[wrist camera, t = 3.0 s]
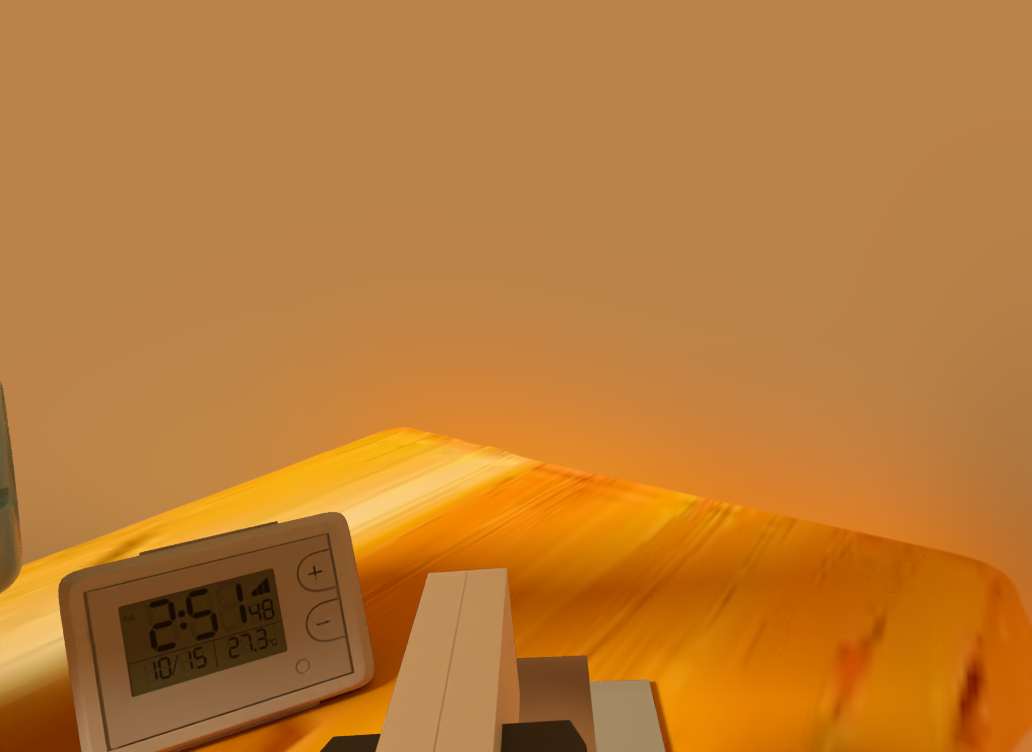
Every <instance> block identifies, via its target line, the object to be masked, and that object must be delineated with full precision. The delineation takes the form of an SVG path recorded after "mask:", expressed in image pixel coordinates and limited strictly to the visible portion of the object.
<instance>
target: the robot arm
mask: <svg viewBox="0 0 1032 752" xmlns="http://www.w3.org/2000/svg"><path fill="white" fill-rule="evenodd" d="M21 567H22V544H21V532H20V521H19V511H18V501H17V493H16V483H15V475H14V466H13V458H12V449H11V443H10V435H9V427H8V420H7V412H6V405H5V399H4V393H3V388H2V384H1V382H0V593H2V592H3V591H5V590H6V589H8V588H9V587H10V586H11V585H12V584H13V583H14V582H15V580H16V579H17V577H18V576H19V573H20V571H21ZM519 704H520V691H519V681H518V671H517V662H516V652H515V642H514V632H513V622H512V613H511V603H510V593H509V583H508V573H507V568H494V569H480V570H466V571H452V572H438V573H428V576H427V579H426V583H425V586H424V590H423V593H422V596H421V600H420V603H419V606H418V610H417V613H416V617H415V620H414V623H413V627H412V630H411V634H410V637H409V640H408V644H407V647H406V651H405V654H404V657H403V661H402V664H401V667H400V671H399V674H398V678H397V681H396V684H395V688H394V691H393V695H392V698H391V701H390V705H389V708H388V711H387V715H386V718H385V722H384V725H383V728H382V732H381V734H370V735H354V736H337V737H333V738H332V739H331V740H330V741H329V742H328V743H327V744H326V746H325V747H324V748H323V749H322V750H321V751H320V752H587V745H586V743H585V742H584V740H583V739H582V737H581V736H580V734H579V733H578V731H577V730H576V728H575V727H574V725H573V724H572V722H571V721H570V720H557V721H541V722H525V723H519Z"/></svg>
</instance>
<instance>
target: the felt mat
mask: <svg viewBox="0 0 1032 752" xmlns="http://www.w3.org/2000/svg"><path fill="white" fill-rule="evenodd" d="M590 691H591V701H592V711H593V721H594V730H595V740H596V750H597V752H665V748H664V743H663V739H662V735H661V730H660V726H659V721H658V717H657V713H656V708H655V704H654V699H653V695H652V691H651V686H650V682H649V680H627V681H602V682H590Z"/></svg>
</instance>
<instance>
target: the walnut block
mask: <svg viewBox="0 0 1032 752" xmlns="http://www.w3.org/2000/svg"><path fill="white" fill-rule="evenodd" d="M516 662H517V671H518V681H519V691H520V704H519V723H525V722H541V721H557V720H570V721H571V722H572V724H573V725H574V727H575V728H576V730H577V731H578V733H579V734H580V736H581V737H582V739H583V740H584V742H585V743H586V745H587V752H597V750H596V740H595V730H594V721H593V711H592V701H591V691H590V682H589V672H588V662H587V656H563V657H539V658H516Z"/></svg>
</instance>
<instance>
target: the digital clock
mask: <svg viewBox="0 0 1032 752" xmlns="http://www.w3.org/2000/svg"><path fill="white" fill-rule="evenodd" d="M139 555H140V556H136V557H132V558H128V559H124V560H119V561H115V562H111V563H106V564H102V565H98V566H93V567H89V568H85V569H81V570H78V571H75V572H72V573H70V574H68V575H67V576H65V577H64V578H63V579H62V580H61V582H60V584H59V590H58V592H59V605H60V614H61V620H62V627H63V634H64V640H65V647H66V653H67V660H68V667H69V673H70V680H71V687H72V693H73V700H74V706H75V713H76V720H77V726H78V733H79V739H80V746H81V752H180V751H183V750H186V749H189V748H192V747H195V746H198V745H201V744H204V743H207V742H210V741H213V740H216V739H219V738H222V737H225V736H228V735H231V734H234V733H237V732H240V731H243V730H246V729H249V728H252V727H255V726H258V725H261V724H264V723H267V722H270V721H273V720H276V719H279V718H282V717H285V716H288V715H291V714H294V713H297V712H300V711H303V710H306V709H309V708H312V707H315V706H318V705H320V702H319V701H322V700H325V699H328V698H331V697H334V696H337V695H340V694H343V693H346V692H349V691H352V690H355V689H358V688H360V687H362V686H364V685H366V684H367V683H369V682H370V681H371V680H372V678H373V676H374V670H375V666H374V658H373V652H372V647H371V641H370V636H369V631H368V626H367V620H366V615H365V610H364V604H363V599H362V594H361V588H360V583H359V578H358V572H357V567H356V562H355V557H354V551H353V546H352V541H351V536H350V532H349V527H348V524H347V521H346V519H345V517H344V516H343V515H342V514H340V513H337V512H328V513H322V514H318V515H314V516H309V517H305V518H301V519H296V520H292V521H288V522H283V523H279V524H278V522H277V521H275V522H271V523H267V524H262V525H258V526H254V527H249V528H245V529H241V530H236V531H232V532H228V533H223V534H219V535H215V536H210V537H206V538H202V539H197V540H193V541H188V542H184V543H180V544H175V545H171V546H167V547H162V548H158V549H154V550H149V551H145V552H141V553H139Z"/></svg>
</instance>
